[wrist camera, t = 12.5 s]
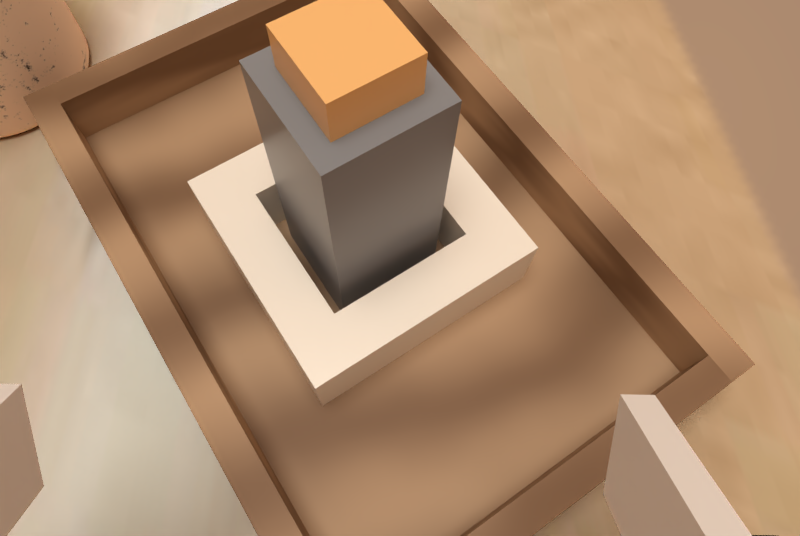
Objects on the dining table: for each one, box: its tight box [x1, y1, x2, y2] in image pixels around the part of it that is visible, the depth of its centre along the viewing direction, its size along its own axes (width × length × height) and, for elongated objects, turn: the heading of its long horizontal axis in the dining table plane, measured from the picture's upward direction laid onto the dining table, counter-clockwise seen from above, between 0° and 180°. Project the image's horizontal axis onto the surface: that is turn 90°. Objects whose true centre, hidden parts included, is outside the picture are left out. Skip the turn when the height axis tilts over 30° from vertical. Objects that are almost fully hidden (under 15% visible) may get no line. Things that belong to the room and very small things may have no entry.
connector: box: [239, 0, 462, 310], centre depth 22 cm, size 4×4×13 cm
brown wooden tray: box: [23, 0, 755, 536], centre depth 27 cm, size 26×18×4 cm
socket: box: [187, 143, 538, 406], centre depth 26 cm, size 10×10×3 cm
